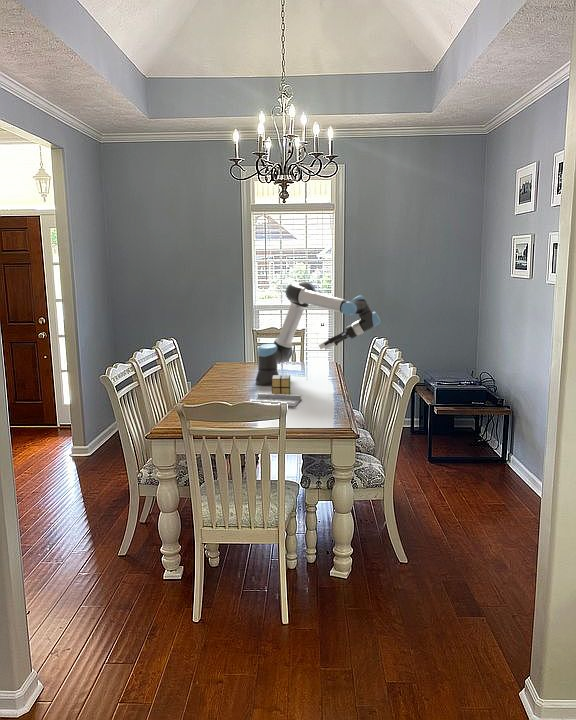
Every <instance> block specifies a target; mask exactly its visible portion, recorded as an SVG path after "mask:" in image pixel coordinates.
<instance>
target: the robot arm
mask: <svg viewBox="0 0 576 720" xmlns="http://www.w3.org/2000/svg"><path fill="white" fill-rule="evenodd" d="M285 296H286V298H287V300H288V301H289V302H290V306H289V308H288V310H287V314H286V316H285V319H284V321H283V324H282V327H281V329H280V332H279V335H278V337H276V338H275V339H274V341H273V343H264V344H261V345H259V346H258V348H257V366H258V367H257V373H256V377H255V384H256V385H259V386H272V376H273V375H280V374H279V371H278V364H282V363H286V362H287V361H290V359H291V358H292V357H293V353H294V352H293V351H294V350H293V343H292V342H293V340H294V338H295V333H296V331H297V329H298V326H299V324H300V321H301V318H302V316H303V313H304V310H305V309H307V308H308V307H309V305H310V306H315V307H318V308H323V309H327V310H330V311H334V312H338V313H342V314H343V315H345V316H349V317H350V316H355V315H357V316H358V317H359V319H357V320H356V321H354V322H353V323H351V324H349V325H348V326H346V327H345V330H346V331H342V332H341V333H339V334H337V335H335V336H333V337H328V338H327V340H325V341H323V342H322V343H320V344H318V347H319V349H320V350H323V349H324V350H325V351H327V350H328V349H330V348H332V347H333V346H338V344H339V343H341V342H343V341H344V340H347V339H348V338H350V339H352V340H353V339H354V338H356V337H358V336H360V335H364V333H365V332H367V331H369V330H371V329H373V328H375V327H376V326H378V325H379V324H381V318H380V317H379V315H378V313H377V312H376V311H372V310H371V308H370V306H369V304H368V302H367V300H366V298H365V297H364V295H362V294H359V295H358V296H356V297H353V298H352V299H351V300H350V299H349V300H347V299H345V298H340V297H335V296H332V295H328V294H324V293H321V292H316V288H315V286H314V285H313V284H312V283H311V282H308V281H299V282H298V281H296V282H292V283H290V284H289V285H288V286H287V287H286V290H285Z"/></svg>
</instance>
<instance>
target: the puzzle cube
mask: <svg viewBox="0 0 576 720" xmlns="http://www.w3.org/2000/svg"><path fill="white" fill-rule="evenodd" d="M271 394H290V395H291V375H290V374H285V375H284V374H283V375H280V374H279V375H273V376H272V385H271Z"/></svg>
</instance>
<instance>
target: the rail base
mask: <svg viewBox="0 0 576 720" xmlns="http://www.w3.org/2000/svg"><path fill="white" fill-rule="evenodd" d="M250 401H252V402H261V403H271V404H278V403H281V402H287V404H288V409H289V407H295V406H296V405H297V404H298V405H299V404H300V402H301V401H302V395H301V394H291V393H290V394H272V393H268V392H267V393H265V392H258V393H257V397H256V398H255V399H250V400H249V402H250ZM298 405H297V406H298ZM297 406H296V407H297ZM296 407H295V408H296Z"/></svg>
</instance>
